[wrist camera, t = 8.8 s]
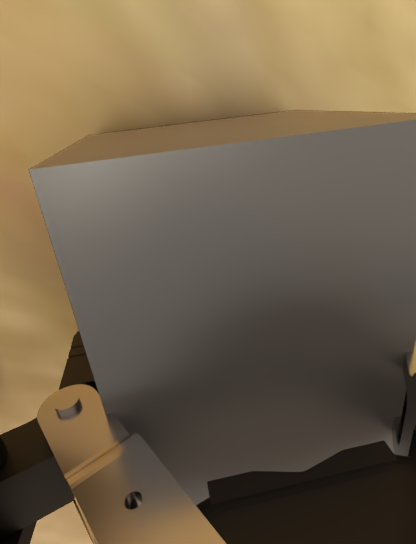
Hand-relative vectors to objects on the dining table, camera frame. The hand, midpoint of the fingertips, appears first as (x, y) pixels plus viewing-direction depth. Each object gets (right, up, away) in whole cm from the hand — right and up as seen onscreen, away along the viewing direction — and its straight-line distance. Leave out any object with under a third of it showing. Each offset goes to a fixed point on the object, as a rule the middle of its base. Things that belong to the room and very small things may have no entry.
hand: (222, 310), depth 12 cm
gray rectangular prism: (0, +1, +2) cm, 2 cm away
